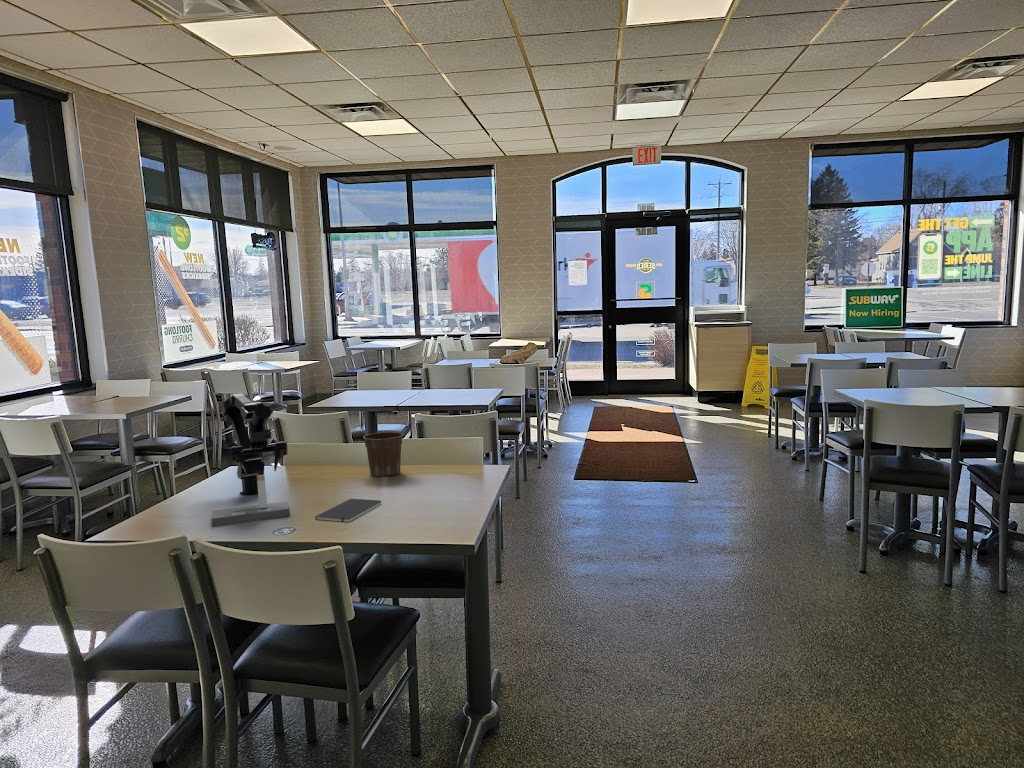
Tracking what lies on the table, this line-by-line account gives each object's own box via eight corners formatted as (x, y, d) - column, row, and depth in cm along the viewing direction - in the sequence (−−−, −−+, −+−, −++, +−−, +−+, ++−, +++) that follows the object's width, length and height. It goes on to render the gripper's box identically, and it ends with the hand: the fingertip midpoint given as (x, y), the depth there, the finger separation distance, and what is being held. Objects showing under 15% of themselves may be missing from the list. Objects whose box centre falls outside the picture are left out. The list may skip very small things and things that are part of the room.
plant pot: (373, 469, 296) (370, 431, 295) (410, 468, 294) (408, 431, 292) (359, 478, 280) (357, 439, 279) (398, 478, 278) (396, 438, 276)
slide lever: (259, 508, 233) (256, 477, 232) (259, 506, 236) (256, 475, 235) (267, 507, 234) (264, 476, 233) (266, 505, 237) (264, 474, 236)
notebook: (351, 502, 248) (315, 521, 228) (350, 498, 248) (315, 516, 228) (382, 504, 244) (349, 523, 224) (382, 500, 244) (348, 519, 224)
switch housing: (212, 525, 225) (211, 518, 225) (213, 517, 235) (213, 510, 234) (290, 515, 234) (289, 508, 233) (288, 507, 243) (288, 500, 243)
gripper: (228, 424, 240) (230, 464, 232) (285, 419, 247) (289, 458, 239) (230, 440, 249) (232, 479, 241) (285, 435, 256) (289, 473, 248)
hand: (261, 472), depth 242 cm, fingers open, 9 cm apart
